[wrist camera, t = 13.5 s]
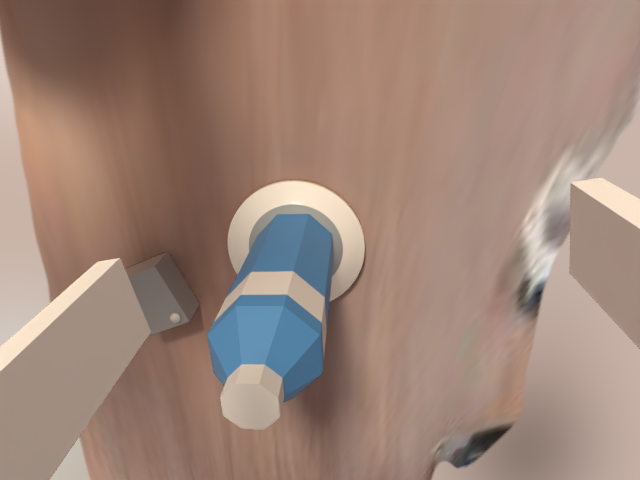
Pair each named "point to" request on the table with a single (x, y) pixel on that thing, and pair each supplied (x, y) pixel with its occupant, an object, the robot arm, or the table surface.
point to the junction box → (162, 293)
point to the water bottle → (274, 321)
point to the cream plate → (302, 201)
